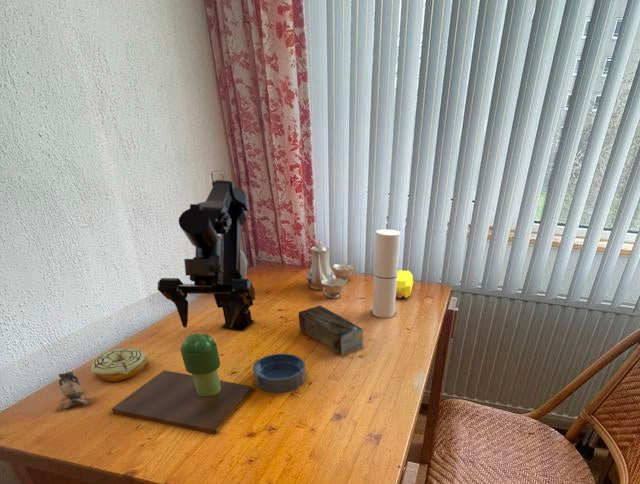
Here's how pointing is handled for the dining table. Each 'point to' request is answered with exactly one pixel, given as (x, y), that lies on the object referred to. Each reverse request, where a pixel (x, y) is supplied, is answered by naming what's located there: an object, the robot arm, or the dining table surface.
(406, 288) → the orange-capped yellow polyhedron
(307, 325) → the beverage carton
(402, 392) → the dining table surface
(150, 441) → the dining table surface
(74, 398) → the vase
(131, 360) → the decorated donut
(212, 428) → the board
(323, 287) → the chinaware
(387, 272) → the cylindrical container
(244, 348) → the dining table surface
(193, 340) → the broccoli
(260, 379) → the bowl
